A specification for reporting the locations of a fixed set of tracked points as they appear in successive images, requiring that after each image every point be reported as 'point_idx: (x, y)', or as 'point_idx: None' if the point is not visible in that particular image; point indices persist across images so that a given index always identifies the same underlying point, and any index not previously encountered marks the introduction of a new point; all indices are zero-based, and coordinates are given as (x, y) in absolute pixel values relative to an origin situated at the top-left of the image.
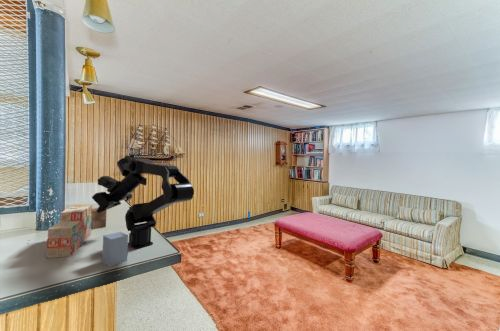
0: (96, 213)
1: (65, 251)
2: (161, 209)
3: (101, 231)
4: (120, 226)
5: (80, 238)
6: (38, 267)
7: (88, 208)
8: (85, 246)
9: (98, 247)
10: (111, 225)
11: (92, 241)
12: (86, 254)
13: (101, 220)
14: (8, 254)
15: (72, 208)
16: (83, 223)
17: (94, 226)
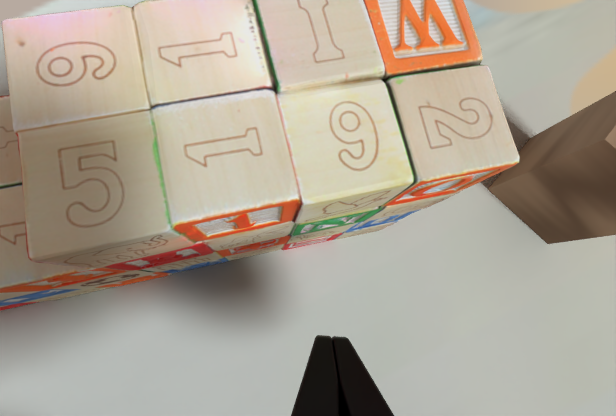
0: (597, 166)
1: None
2: None
3: (451, 263)
4: (575, 342)
5: (156, 273)
6: None
7: (369, 195)
8: (157, 313)
9: (130, 410)
10: (584, 266)
11: (251, 308)
12: (5, 398)
13: (568, 212)
14: (76, 2)
15: (266, 36)
16: (197, 252)
17: (504, 189)
